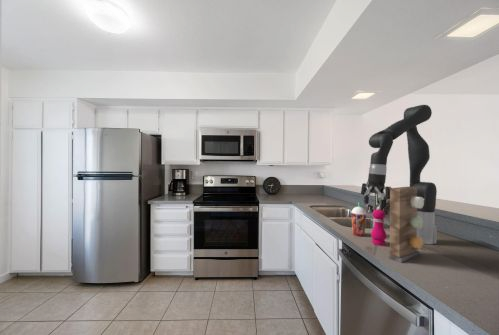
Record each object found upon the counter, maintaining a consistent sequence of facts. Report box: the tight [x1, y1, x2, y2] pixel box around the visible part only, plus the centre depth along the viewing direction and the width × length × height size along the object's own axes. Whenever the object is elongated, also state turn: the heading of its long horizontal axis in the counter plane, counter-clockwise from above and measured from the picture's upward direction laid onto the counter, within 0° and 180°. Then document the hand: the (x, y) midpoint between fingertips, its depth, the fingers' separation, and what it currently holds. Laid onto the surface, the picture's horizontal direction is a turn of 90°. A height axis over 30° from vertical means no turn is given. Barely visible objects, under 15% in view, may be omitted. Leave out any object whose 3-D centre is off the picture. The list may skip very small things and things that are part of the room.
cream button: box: [411, 196, 424, 208], centre depth 95 cm, size 3×5×5 cm, turn 120°
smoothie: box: [350, 202, 367, 237], centre depth 131 cm, size 8×8×20 cm
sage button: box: [410, 216, 424, 229], centre depth 95 cm, size 3×5×5 cm, turn 120°
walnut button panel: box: [388, 186, 421, 263], centre depth 100 cm, size 5×17×32 cm, turn 120°
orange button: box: [410, 236, 424, 250], centre depth 96 cm, size 3×5×5 cm, turn 120°
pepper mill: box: [370, 206, 387, 247], centre depth 116 cm, size 7×7×20 cm
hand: (374, 205), depth 108 cm, fingers open, 8 cm apart
